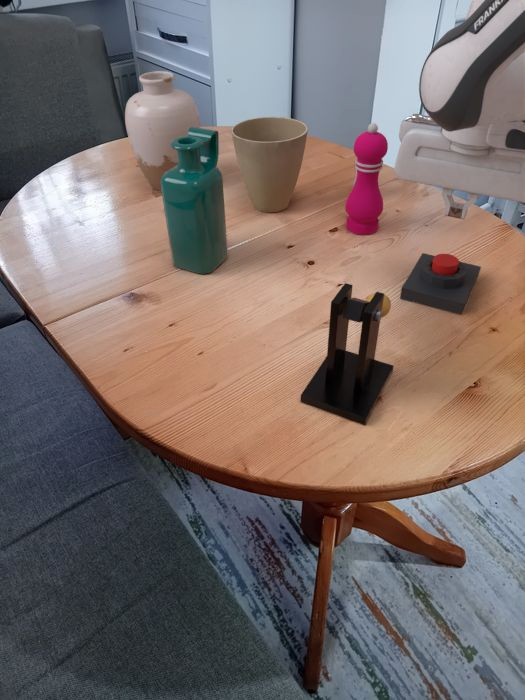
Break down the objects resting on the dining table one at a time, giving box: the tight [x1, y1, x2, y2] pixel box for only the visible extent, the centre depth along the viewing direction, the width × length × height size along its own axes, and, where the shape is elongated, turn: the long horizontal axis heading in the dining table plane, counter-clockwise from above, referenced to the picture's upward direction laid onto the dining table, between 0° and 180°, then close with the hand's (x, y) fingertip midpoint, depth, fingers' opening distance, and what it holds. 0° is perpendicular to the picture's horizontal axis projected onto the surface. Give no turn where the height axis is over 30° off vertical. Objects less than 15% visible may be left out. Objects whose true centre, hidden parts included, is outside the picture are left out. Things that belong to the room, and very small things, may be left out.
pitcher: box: [160, 127, 229, 275], centre depth 92 cm, size 10×8×22 cm
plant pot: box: [230, 116, 309, 213], centre depth 110 cm, size 15×15×16 cm
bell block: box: [399, 252, 482, 316], centre depth 89 cm, size 12×10×4 cm
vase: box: [124, 70, 201, 192], centre depth 117 cm, size 16×16×23 cm
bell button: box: [432, 253, 460, 275], centre depth 87 cm, size 4×4×2 cm
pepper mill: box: [344, 122, 389, 236], centre depth 100 cm, size 7×7×20 cm
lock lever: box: [343, 292, 392, 323], centre depth 69 cm, size 14×4×4 cm, turn 152°
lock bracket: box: [299, 282, 395, 426], centre depth 68 cm, size 11×9×15 cm
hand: (455, 216), depth 82 cm, fingers closed
